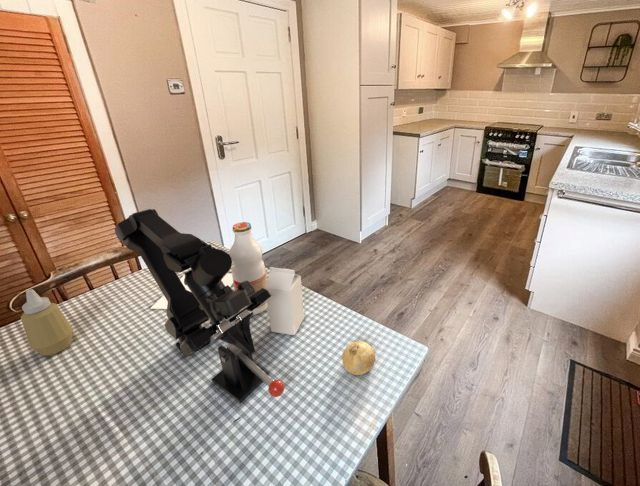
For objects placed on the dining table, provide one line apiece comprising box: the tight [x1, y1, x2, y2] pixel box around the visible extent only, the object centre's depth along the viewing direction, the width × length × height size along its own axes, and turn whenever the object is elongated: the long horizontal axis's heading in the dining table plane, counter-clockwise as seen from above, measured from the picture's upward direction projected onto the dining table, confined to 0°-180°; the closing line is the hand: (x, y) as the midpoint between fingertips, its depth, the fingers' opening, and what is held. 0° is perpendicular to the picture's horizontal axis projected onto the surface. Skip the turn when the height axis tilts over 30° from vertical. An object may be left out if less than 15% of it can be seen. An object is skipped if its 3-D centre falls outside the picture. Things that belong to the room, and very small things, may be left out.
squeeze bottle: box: [20, 288, 74, 357], centre depth 76 cm, size 8×8×18 cm
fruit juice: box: [228, 221, 268, 316], centre depth 90 cm, size 9×9×28 cm
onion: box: [341, 340, 376, 376], centre depth 73 cm, size 8×8×7 cm
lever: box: [226, 343, 285, 398], centre depth 65 cm, size 16×3×3 cm, turn 59°
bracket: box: [211, 344, 270, 404], centre depth 69 cm, size 10×8×11 cm
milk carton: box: [265, 266, 305, 336], centre depth 84 cm, size 7×7×19 cm
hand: (252, 353), depth 63 cm, fingers closed
